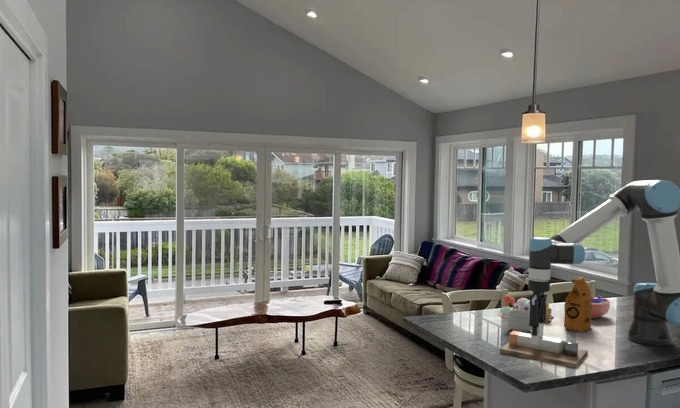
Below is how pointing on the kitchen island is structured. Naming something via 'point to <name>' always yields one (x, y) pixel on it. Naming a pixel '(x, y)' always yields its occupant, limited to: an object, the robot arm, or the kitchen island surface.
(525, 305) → the candy landscape model
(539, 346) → the tongs arm
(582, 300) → the coffee package
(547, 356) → the board
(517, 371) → the kitchen island surface
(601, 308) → the cell model
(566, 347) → the tongs fixed
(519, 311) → the teacup
